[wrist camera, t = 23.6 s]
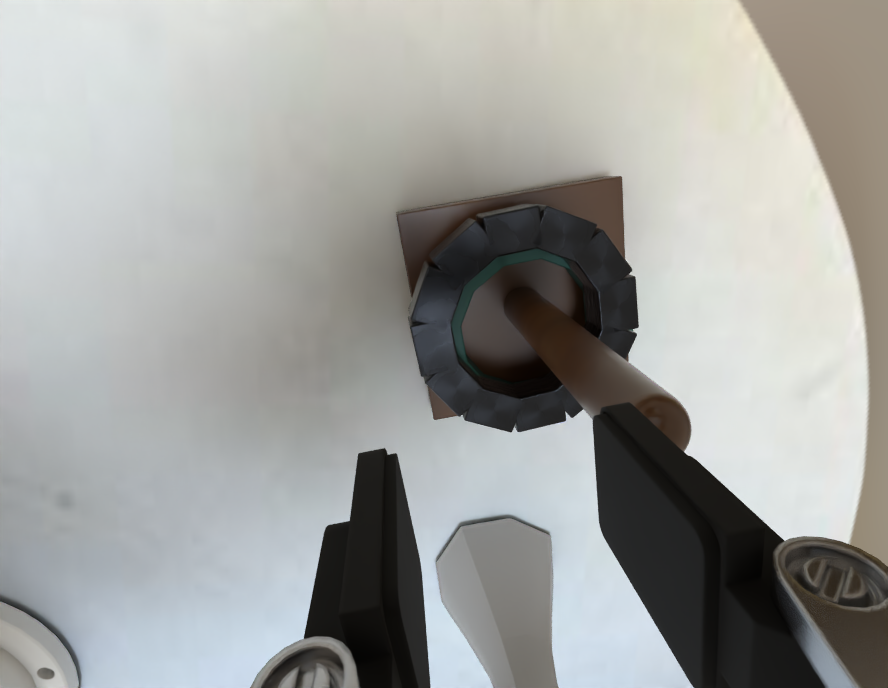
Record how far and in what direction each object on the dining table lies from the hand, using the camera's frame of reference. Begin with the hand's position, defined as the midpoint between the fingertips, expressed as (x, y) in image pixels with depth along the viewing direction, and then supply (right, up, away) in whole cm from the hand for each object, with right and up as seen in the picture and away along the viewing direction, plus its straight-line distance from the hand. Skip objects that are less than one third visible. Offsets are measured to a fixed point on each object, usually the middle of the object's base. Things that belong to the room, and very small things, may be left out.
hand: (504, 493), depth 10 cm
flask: (+2, -10, +19) cm, 22 cm away
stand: (+2, +5, +14) cm, 15 cm away
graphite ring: (+2, +4, +11) cm, 12 cm away
